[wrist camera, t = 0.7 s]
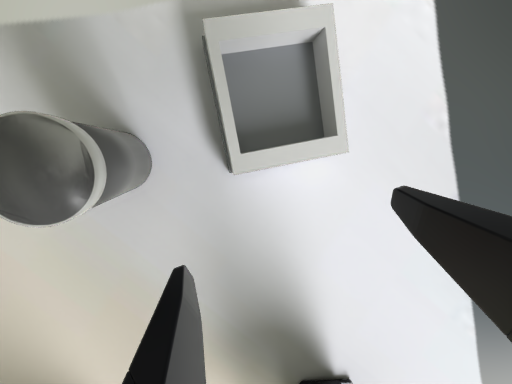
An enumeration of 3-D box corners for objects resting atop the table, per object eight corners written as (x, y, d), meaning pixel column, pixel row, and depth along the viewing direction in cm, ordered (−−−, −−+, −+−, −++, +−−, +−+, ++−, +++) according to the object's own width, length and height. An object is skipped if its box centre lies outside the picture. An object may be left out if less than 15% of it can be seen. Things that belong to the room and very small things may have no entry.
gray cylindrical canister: (151, 194, 21) (95, 231, 12) (86, 188, 20) (-33, 222, 11) (154, 135, 21) (98, 121, 11) (88, 126, 20) (-39, 101, 10)
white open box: (331, 151, 23) (351, 151, 20) (229, 171, 22) (231, 175, 19) (316, 26, 21) (335, 2, 18) (202, 41, 20) (199, 19, 17)
